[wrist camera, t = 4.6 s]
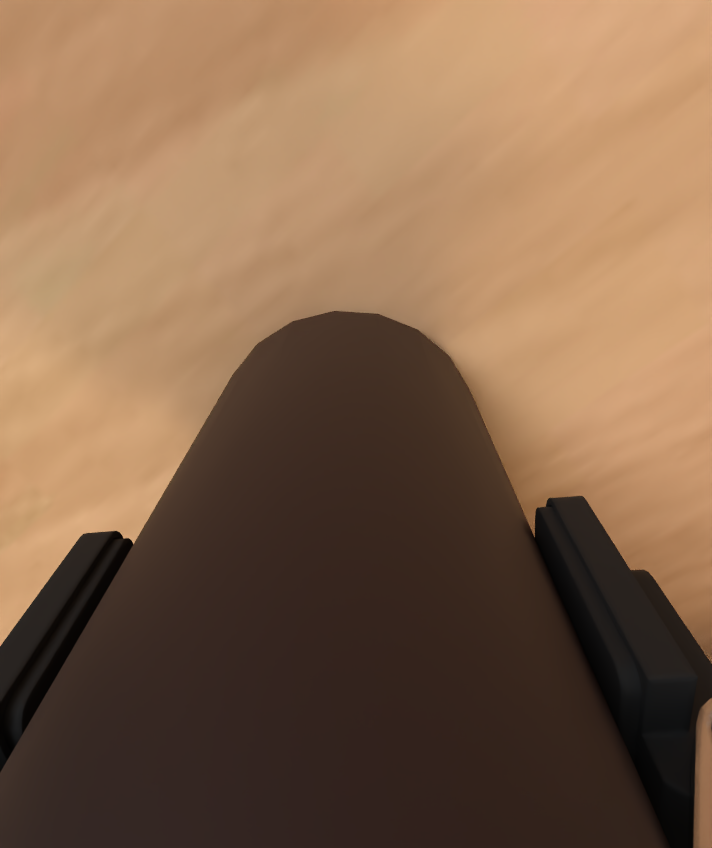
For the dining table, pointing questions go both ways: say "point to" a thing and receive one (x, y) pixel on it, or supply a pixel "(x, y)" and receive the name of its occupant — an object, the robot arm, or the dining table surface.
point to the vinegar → (331, 637)
